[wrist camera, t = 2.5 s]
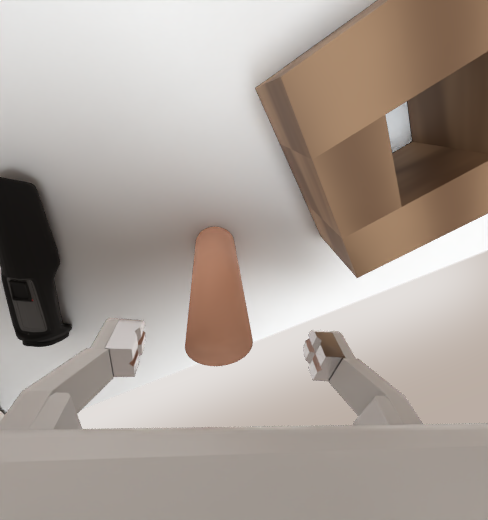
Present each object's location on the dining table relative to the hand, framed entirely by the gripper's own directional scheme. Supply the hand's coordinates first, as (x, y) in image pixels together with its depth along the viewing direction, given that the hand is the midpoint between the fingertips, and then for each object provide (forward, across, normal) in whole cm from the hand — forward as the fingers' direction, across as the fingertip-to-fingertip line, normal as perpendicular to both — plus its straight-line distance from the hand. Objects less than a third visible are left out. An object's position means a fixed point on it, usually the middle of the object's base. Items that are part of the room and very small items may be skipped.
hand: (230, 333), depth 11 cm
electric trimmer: (+10, +15, +4) cm, 18 cm away
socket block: (+10, -9, -10) cm, 17 cm away
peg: (+10, +1, 0) cm, 10 cm away
